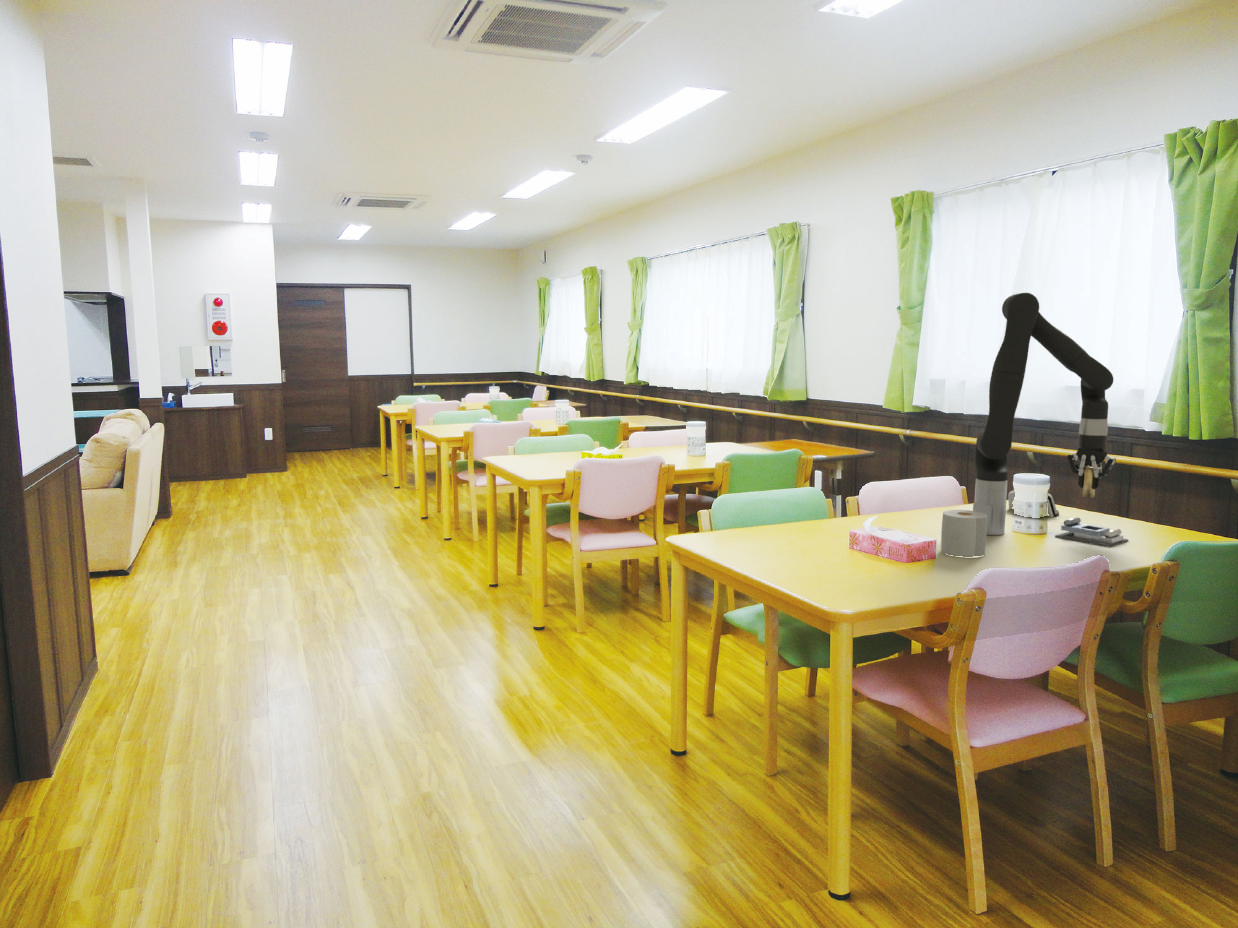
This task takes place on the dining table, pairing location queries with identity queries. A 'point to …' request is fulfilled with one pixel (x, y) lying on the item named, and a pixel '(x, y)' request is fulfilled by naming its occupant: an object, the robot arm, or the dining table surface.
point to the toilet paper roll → (963, 533)
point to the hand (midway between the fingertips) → (1089, 488)
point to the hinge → (1051, 504)
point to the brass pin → (1088, 482)
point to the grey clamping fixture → (1092, 531)
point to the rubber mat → (1070, 536)
